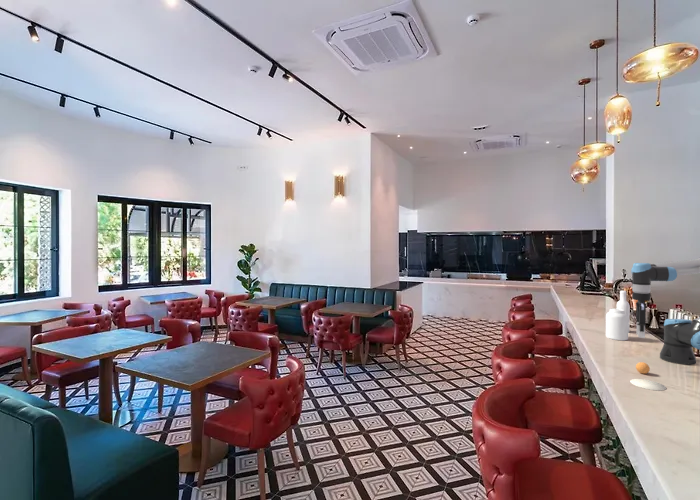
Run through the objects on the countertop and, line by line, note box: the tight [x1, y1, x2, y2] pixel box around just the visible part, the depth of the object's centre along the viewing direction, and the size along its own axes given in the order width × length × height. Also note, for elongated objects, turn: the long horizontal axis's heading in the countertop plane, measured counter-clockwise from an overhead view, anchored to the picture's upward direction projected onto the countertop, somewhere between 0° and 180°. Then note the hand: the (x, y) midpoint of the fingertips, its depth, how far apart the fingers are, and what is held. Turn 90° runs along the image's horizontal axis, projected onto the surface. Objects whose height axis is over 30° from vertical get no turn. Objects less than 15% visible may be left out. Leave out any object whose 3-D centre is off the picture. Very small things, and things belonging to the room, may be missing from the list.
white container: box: [605, 308, 629, 341], centre depth 248 cm, size 12×12×20 cm
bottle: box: [615, 290, 631, 334], centre depth 265 cm, size 8×8×30 cm
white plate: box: [629, 378, 667, 391], centre depth 169 cm, size 13×13×1 cm
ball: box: [635, 361, 651, 374], centre depth 183 cm, size 6×6×6 cm
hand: (640, 336), depth 191 cm, fingers open, 6 cm apart
